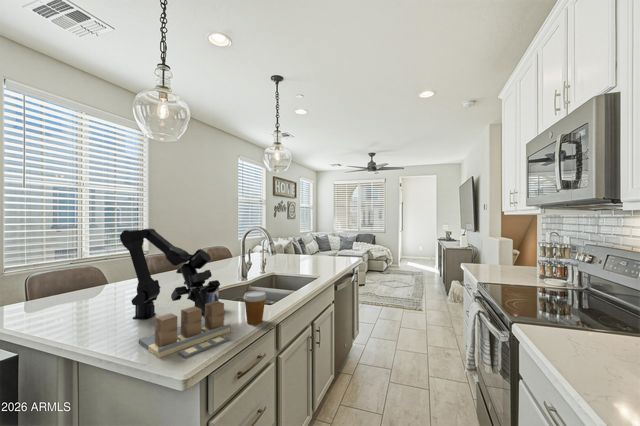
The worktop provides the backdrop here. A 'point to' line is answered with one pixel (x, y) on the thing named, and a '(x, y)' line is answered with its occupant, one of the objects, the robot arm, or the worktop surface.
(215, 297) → the small box
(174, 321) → the slider
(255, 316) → the disposable coffee cup
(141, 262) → the robot arm
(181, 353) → the card
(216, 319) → the slider
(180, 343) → the board
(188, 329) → the middle slider
